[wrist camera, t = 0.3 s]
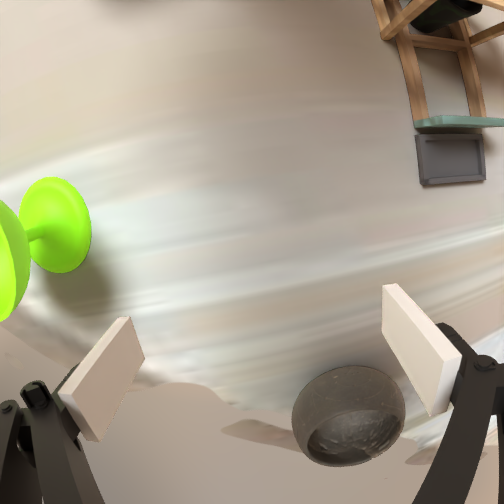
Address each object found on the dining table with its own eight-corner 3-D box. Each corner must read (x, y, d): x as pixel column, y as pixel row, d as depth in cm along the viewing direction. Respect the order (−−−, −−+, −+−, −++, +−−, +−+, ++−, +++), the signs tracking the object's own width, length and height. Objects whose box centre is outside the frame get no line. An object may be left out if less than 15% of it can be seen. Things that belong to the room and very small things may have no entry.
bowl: (380, 415, 52) (397, 462, 40) (289, 426, 53) (292, 478, 41) (396, 341, 47) (425, 389, 35) (288, 352, 48) (294, 408, 36)
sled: (377, -16, 30) (394, -41, 23) (441, -7, 29) (464, -25, 22) (414, 127, 37) (443, 123, 29) (476, 127, 36) (509, 126, 28)
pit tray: (414, 134, 37) (419, 134, 36) (476, 134, 36) (482, 134, 35) (420, 183, 39) (424, 185, 38) (480, 178, 38) (486, 179, 37)
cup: (393, -6, 31) (425, -42, 19) (434, 2, 30) (471, -27, 19) (405, 35, 33) (443, 6, 22) (446, 42, 32) (489, 20, 21)
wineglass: (40, 283, 46) (-25, 330, 29) (9, 199, 42) (-66, 222, 25) (106, 257, 44) (36, 309, 27) (71, 159, 40) (-14, 169, 23)
